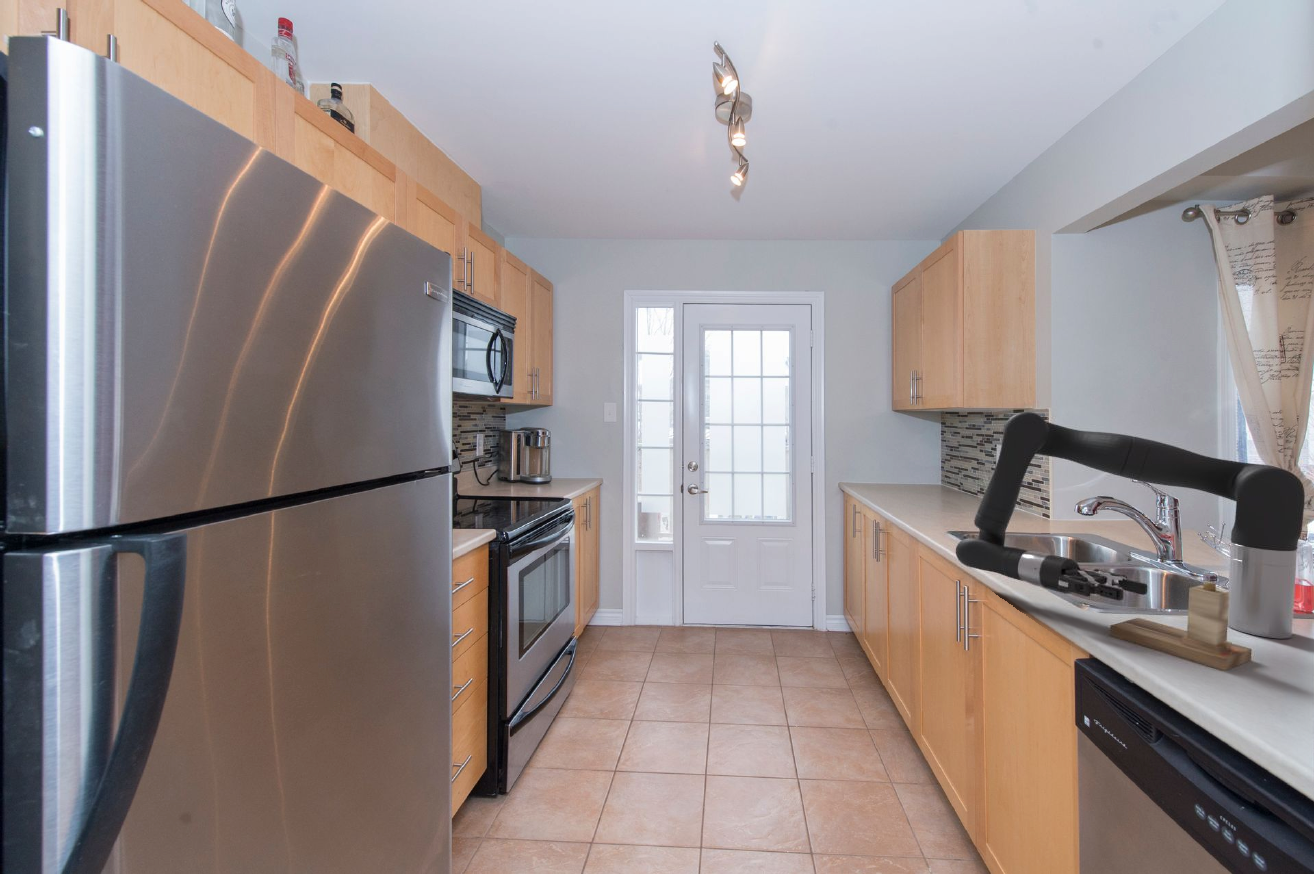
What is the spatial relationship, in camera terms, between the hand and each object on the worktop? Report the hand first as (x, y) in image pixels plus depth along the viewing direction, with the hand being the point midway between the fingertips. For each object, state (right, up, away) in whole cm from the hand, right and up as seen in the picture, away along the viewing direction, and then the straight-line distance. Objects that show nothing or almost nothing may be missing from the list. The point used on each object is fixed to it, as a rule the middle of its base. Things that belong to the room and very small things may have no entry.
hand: (1134, 592), depth 114 cm
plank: (+4, -9, -5) cm, 11 cm away
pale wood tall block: (+5, -7, -10) cm, 13 cm away
